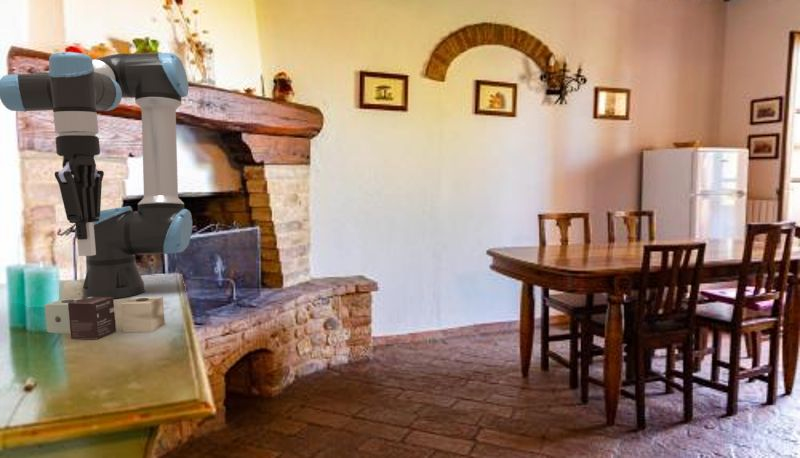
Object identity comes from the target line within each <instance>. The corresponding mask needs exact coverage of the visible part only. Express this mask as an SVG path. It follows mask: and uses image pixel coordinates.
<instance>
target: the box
mask: <svg viewBox="0 0 800 458" xmlns="http://www.w3.org/2000/svg"><path fill="white" fill-rule="evenodd" d="M68 310H69V321H70V333H71V334H70V339H71V340H72V339H73V340H74V339H75V340H98V339H101V338H103V337H106V336H108V335H111V334H113V333H116V332H117V325H116V312H115V304H114V299H113V297H88V298H79V300H76V301H73V302H69V303H68Z"/></svg>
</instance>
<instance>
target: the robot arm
mask: <svg viewBox="0 0 800 458" xmlns="http://www.w3.org/2000/svg"><path fill="white" fill-rule="evenodd" d="M188 94H189V80H188V76H187V72H186V69H185V67H184V64H183V62H182V60H181V58H180V57H179V56H178V55H177V54H175V53H172V52H162V51H160V52H159V51H158V52H142V53H141V52H140V53H139V52H138V53H137V52H136V53H125V52H123V53H115V54H109V55H106V56H101V57H97V58H93V59H92V57H91V56H90V55H88V54H85V53H83V52H82V53H80V52H71V51H70V52H68V51H65V52H64V51H60V52H59V51H58V52H54V53H52V54H50V56H49V58H48V70H45V71H40V72H32V73H23V74H22V73H14V74H5V75H3V76H2V77H1V78H0V102H1V103H2V105H3V106H4V107H5V108H6V109H7V110H9V111H11V112H13V111H14V112H24V113H27V112H35V111H37V112H39V111H40V112H42V111H52V112H53V124H54V132H55V133H56V135H57V134H58V136H56V137H55V139H54V140H55V149H56V155H57V156H60V157H63V159H62V165H61V166H62V169H61V170H60V171H55V172H54V177H55V179H56V181H57V182H58V186H59V190H60V195H61V198H62V203H63V207H64V212H65V215H66V220H67V221H68V222H69V223H70V224H75V231H76V238H77V239H76V241H77V251H78V252H77V253H78V257H87V258H86V259H87V260H86V261H87V270H86V273H85V279H84V283H83V286H82V289H81V291H82V299H84V298H88V297H113V300H114V299H119V298H126V297H127V298H128V297H131V296H136V295H140V294H142V293H145V291H146V289H145V282H144V280H143V278H142V275H141V272H140V271H139V268H138V265H137V263H136V256H137V255H161V254H162V255H163V254H165V255H169V254H176V253H178V254H179V253H181V252H184V251H185V250H186V249H187V247H188V246H189V245H190V241H191V237H192V233H193V218H192V213H191V211H190V210H189V209H187V208H185V203H184V202H183V201H182V199H180V198H179V192H178V190H179V189H178V188H179V187H178V186H179V185H178V181H179V180H178V155H177V154H178V150H177V148H178V147H177V115H176V113H177V109H178V108H179V107H181V106H182V98H185V97H188ZM122 98H126V99H127V98H129V99H135V101H134V102H135V104H136V105H137V106H138V107H139V108H140V109H141V131H142V133H141V134H142V135H141V137H142V139H141V140H142V142H141V143H142V173H143V174H142V175H143V176H142V177H143V179H142V180H143V181H142V182H143V198H141V200H140V201H139V202H138V203H137V211H136V210H134V211H133V208H132V207H131V206H130V205H128V206H121V207H115V208H111V209H110V208H109V209H103V210H101V207H102V206H101V205H102V187H103V185H102V184H103V183H102V182H103V179H104V175H105V173H104V172H105V171H104V170H99V169H98V168H97V163H96V161H95V156H99V155H100V154H101V148H100V138H99V137H98V136H97V135H96V134H98V133H99V132H100V131H99V122H98V114H97V111H98V112H102V111H103V112H109V111H111V110H112V111H113V110H114V109H116V108H117V107H118V106H119V104H121V101H122Z"/></svg>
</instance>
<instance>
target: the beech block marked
mask: <svg viewBox="0 0 800 458" xmlns="http://www.w3.org/2000/svg"><path fill="white" fill-rule="evenodd" d="M120 307H121V308H120V311H121V321H122V332H123V333H151V332H154V331H156V330H158V329H159V328H160V327H163V326H164V325H166V322H165V319H166V318H165V308H164V307H165V306H164V297H163V296H147V297H145V296H137V297H133V298H131V299H129V300H126V301H125V302H122V303H120Z"/></svg>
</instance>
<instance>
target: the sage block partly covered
mask: <svg viewBox="0 0 800 458" xmlns="http://www.w3.org/2000/svg"><path fill="white" fill-rule="evenodd" d="M79 299H80V297H78V298H76V297H75V298H74V297H73V298H71V297H69V298H68V297H67V298H63V299H59V300H56V301H52V302H50V303H46V304H44V312H45V313H44V315H45V323H46V333H47V332H49V333H48V334H70V335H71V333H70V321H69V310H68V303H69V302H73V301H76V300H79Z"/></svg>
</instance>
